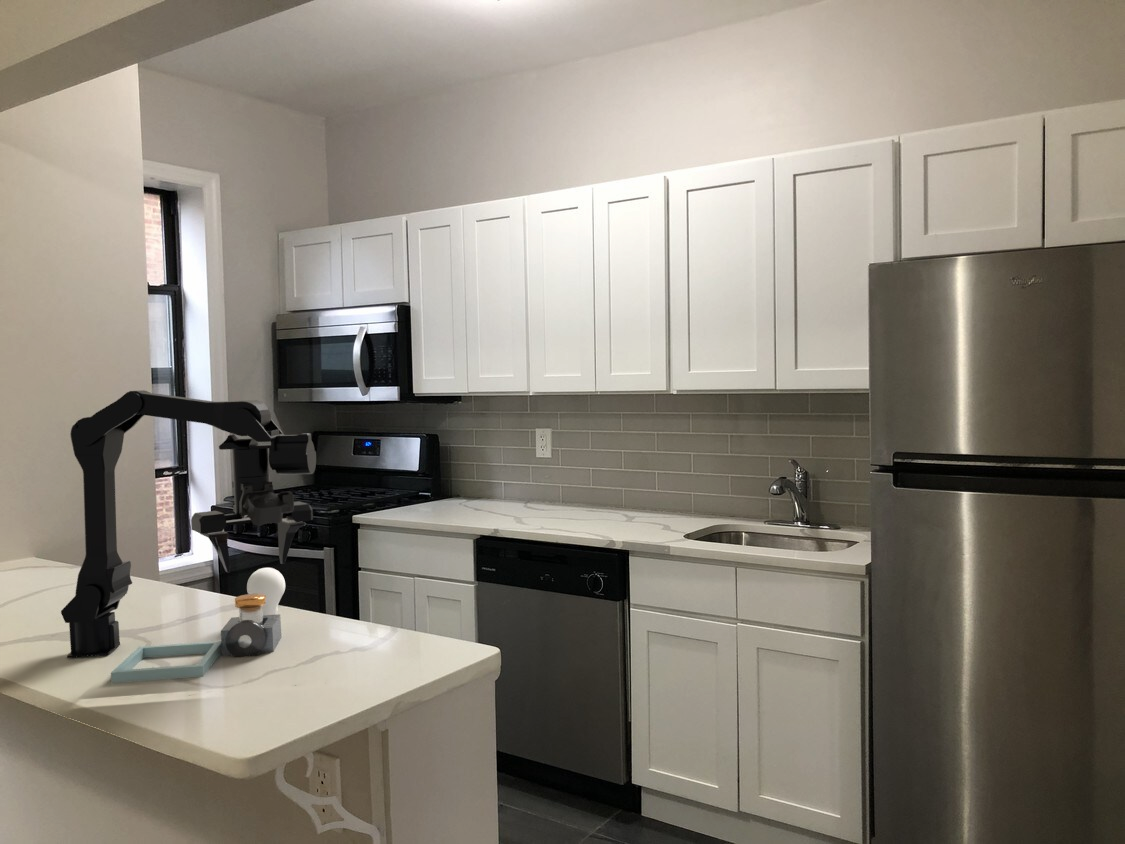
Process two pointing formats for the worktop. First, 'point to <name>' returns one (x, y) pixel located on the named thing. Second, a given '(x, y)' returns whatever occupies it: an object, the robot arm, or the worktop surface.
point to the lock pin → (251, 607)
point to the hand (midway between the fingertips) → (255, 567)
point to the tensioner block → (250, 636)
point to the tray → (129, 674)
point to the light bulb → (267, 588)
